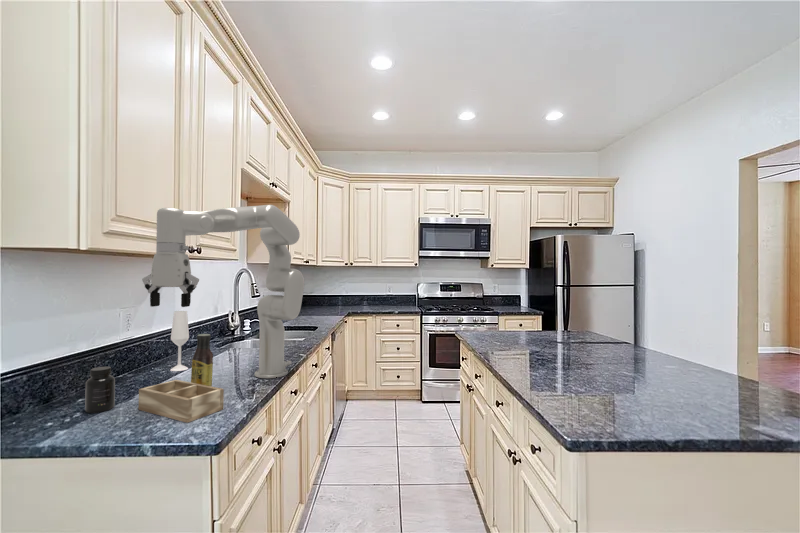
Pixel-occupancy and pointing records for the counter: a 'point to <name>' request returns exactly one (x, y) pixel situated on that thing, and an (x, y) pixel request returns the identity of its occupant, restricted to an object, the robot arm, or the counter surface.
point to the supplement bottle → (100, 390)
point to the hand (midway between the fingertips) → (170, 306)
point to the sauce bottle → (202, 361)
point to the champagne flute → (179, 335)
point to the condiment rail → (181, 400)
